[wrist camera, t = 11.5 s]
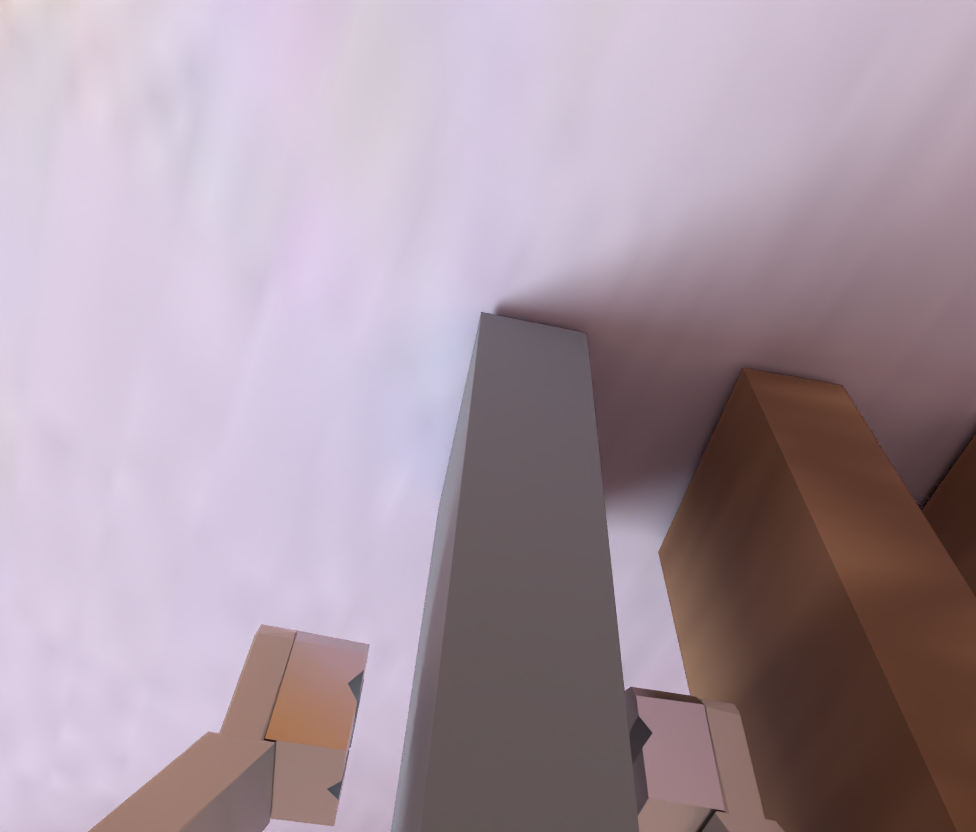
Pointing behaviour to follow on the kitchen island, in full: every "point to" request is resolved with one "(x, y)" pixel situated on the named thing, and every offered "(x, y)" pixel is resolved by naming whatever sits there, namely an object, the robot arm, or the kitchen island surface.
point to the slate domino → (520, 609)
